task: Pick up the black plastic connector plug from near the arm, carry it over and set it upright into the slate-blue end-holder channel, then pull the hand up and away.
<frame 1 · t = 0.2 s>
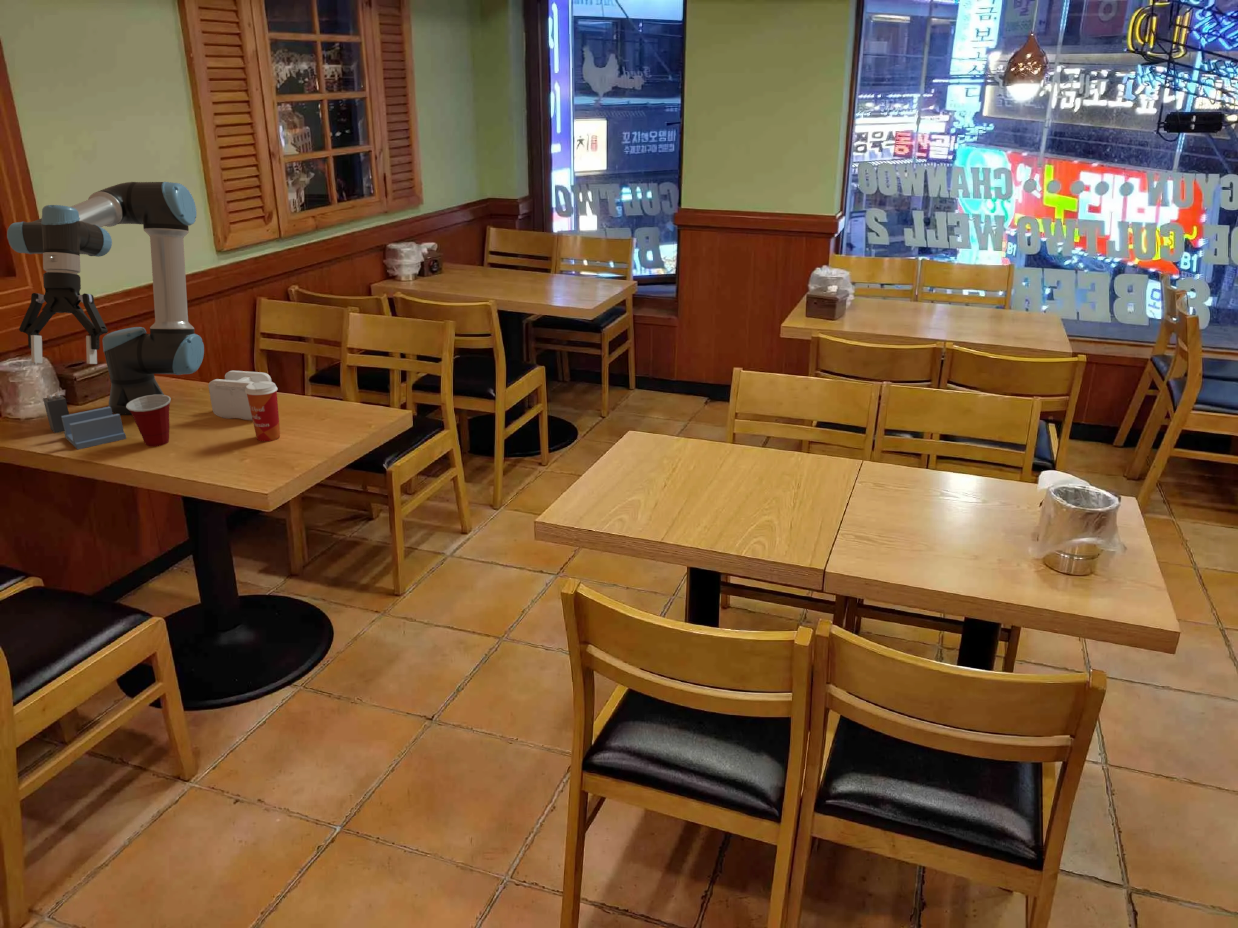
hand: (64, 363, 219), 28 cm above the table, tool tilted 20°, fingers open, 13 cm apart
cable organizer: (246, 415, 269), on the table
plastic cup: (156, 443, 247), on the table
plug: (61, 429, 257), on the table
holder: (95, 438, 250), on the table
coffee cup: (268, 438, 251), on the table
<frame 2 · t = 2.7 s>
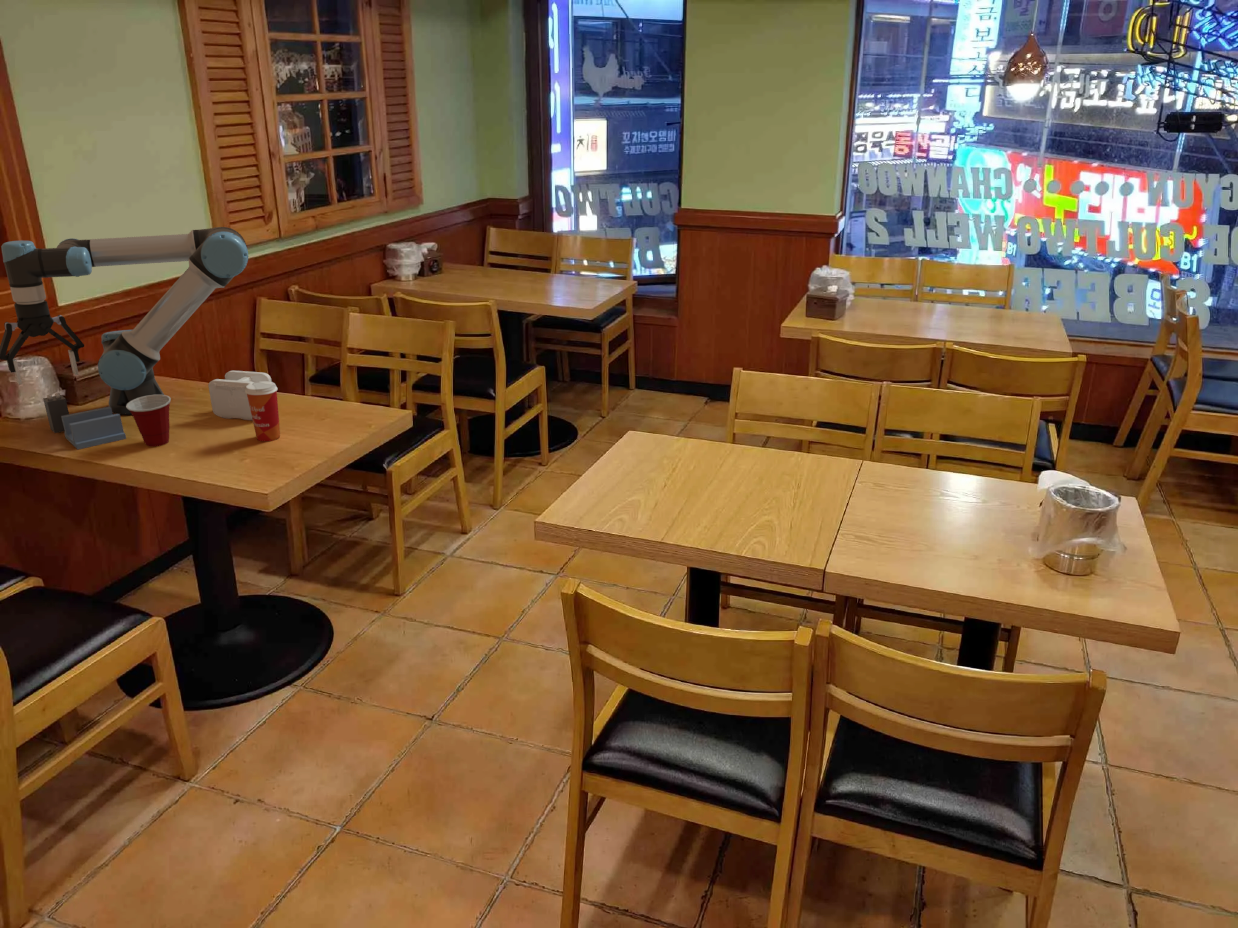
hand: (48, 378, 251), 15 cm above the table, tool pointing down, fingers open, 13 cm apart
nothing on the table moved.
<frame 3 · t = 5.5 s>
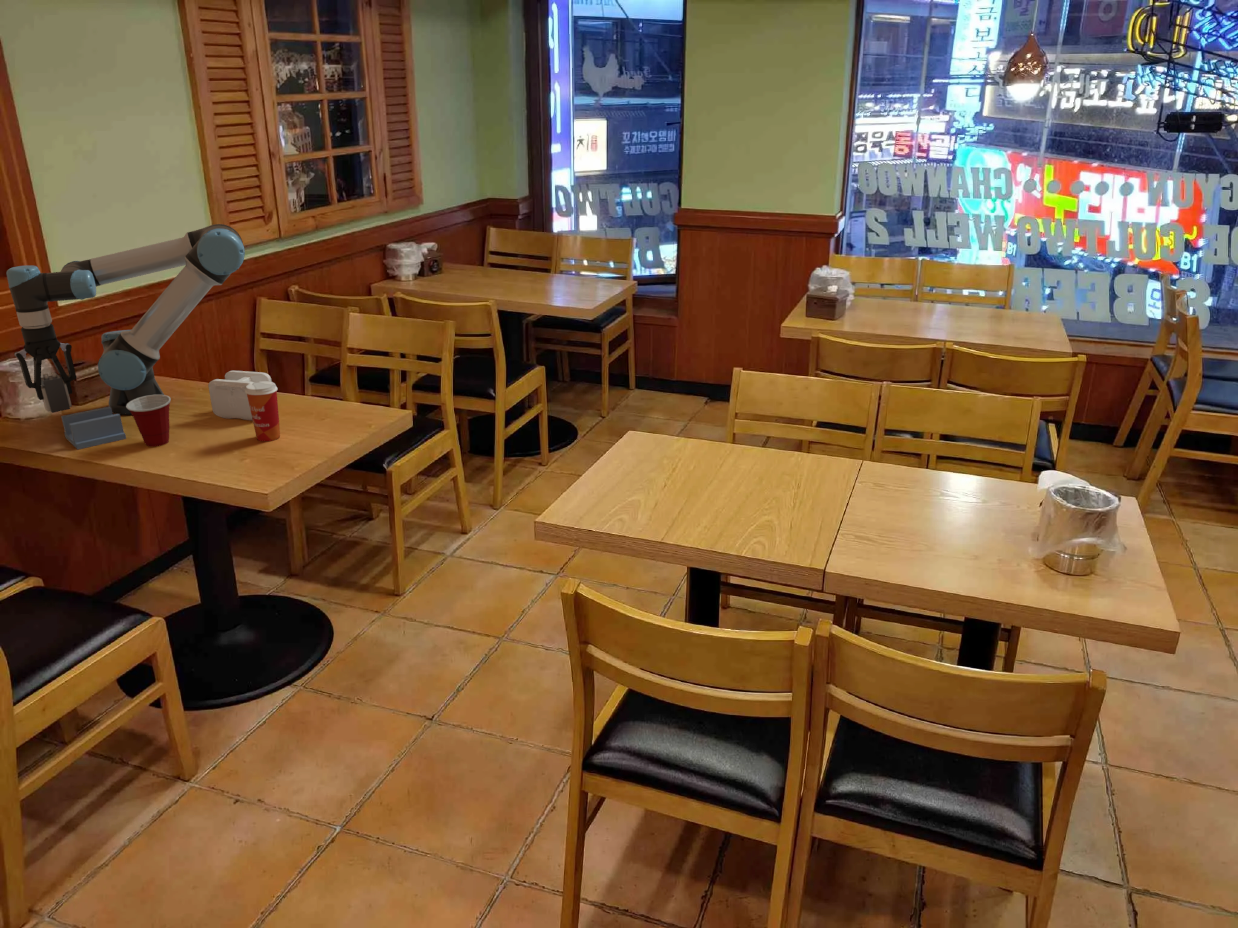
hand: (58, 407, 254), 6 cm above the table, tool pointing down, fingers closed on plug, 4 cm apart
plug: (59, 409, 254), point 6 cm above the table, touching gripper
everything else where it was.
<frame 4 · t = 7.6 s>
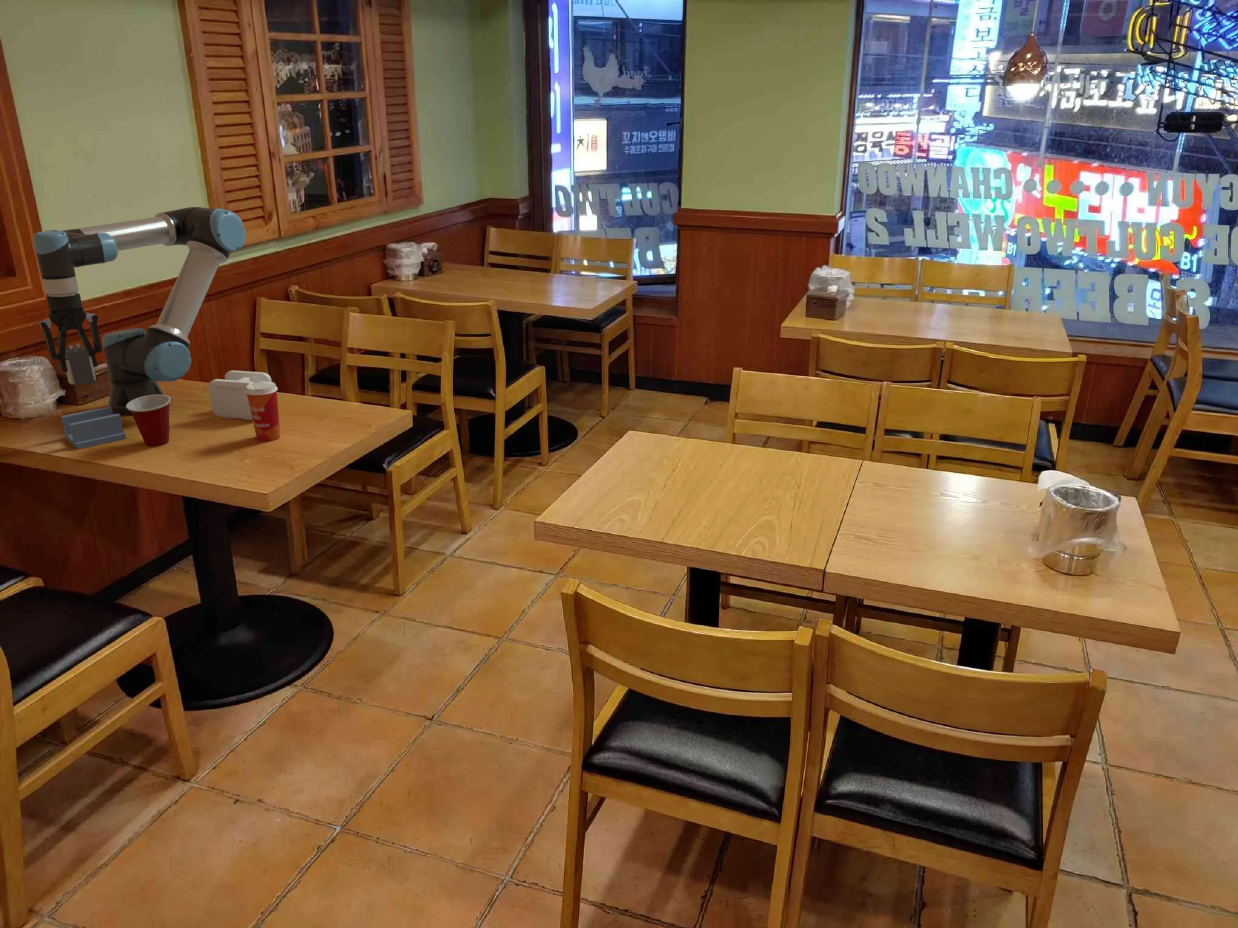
hand: (82, 380, 244), 16 cm above the table, tool pointing down, fingers closed on plug, 4 cm apart
plug: (82, 382, 244), point 16 cm above the table, touching gripper
everything else where it was.
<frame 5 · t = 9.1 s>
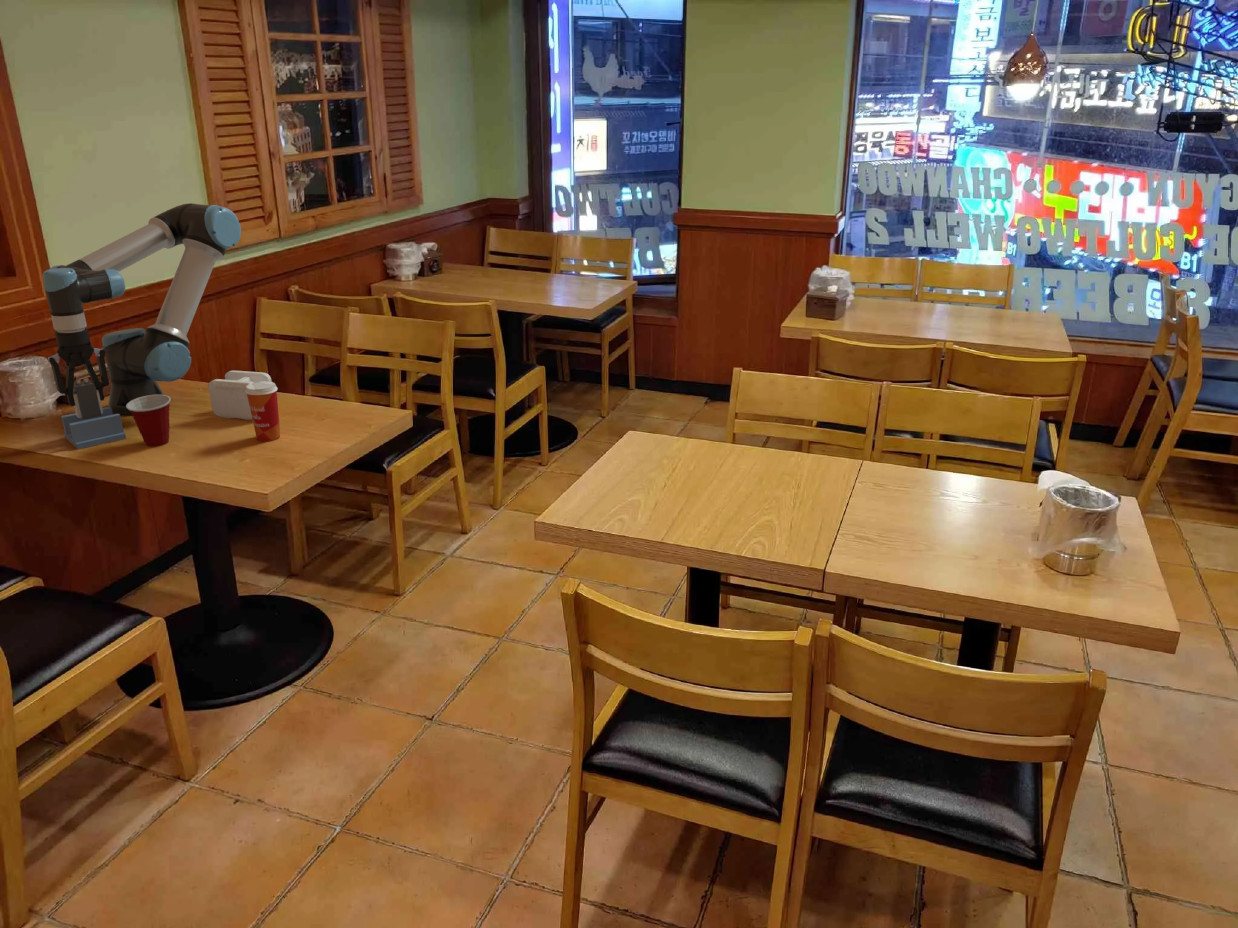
hand: (89, 414, 247), 7 cm above the table, tool pointing down, fingers closed on plug, 4 cm apart
plug: (90, 415, 247), point 7 cm above the table, touching gripper
everything else where it was.
when the fingers open (3 cm above the table, at t = 10.2 s): plug stays where it is, resting on holder.
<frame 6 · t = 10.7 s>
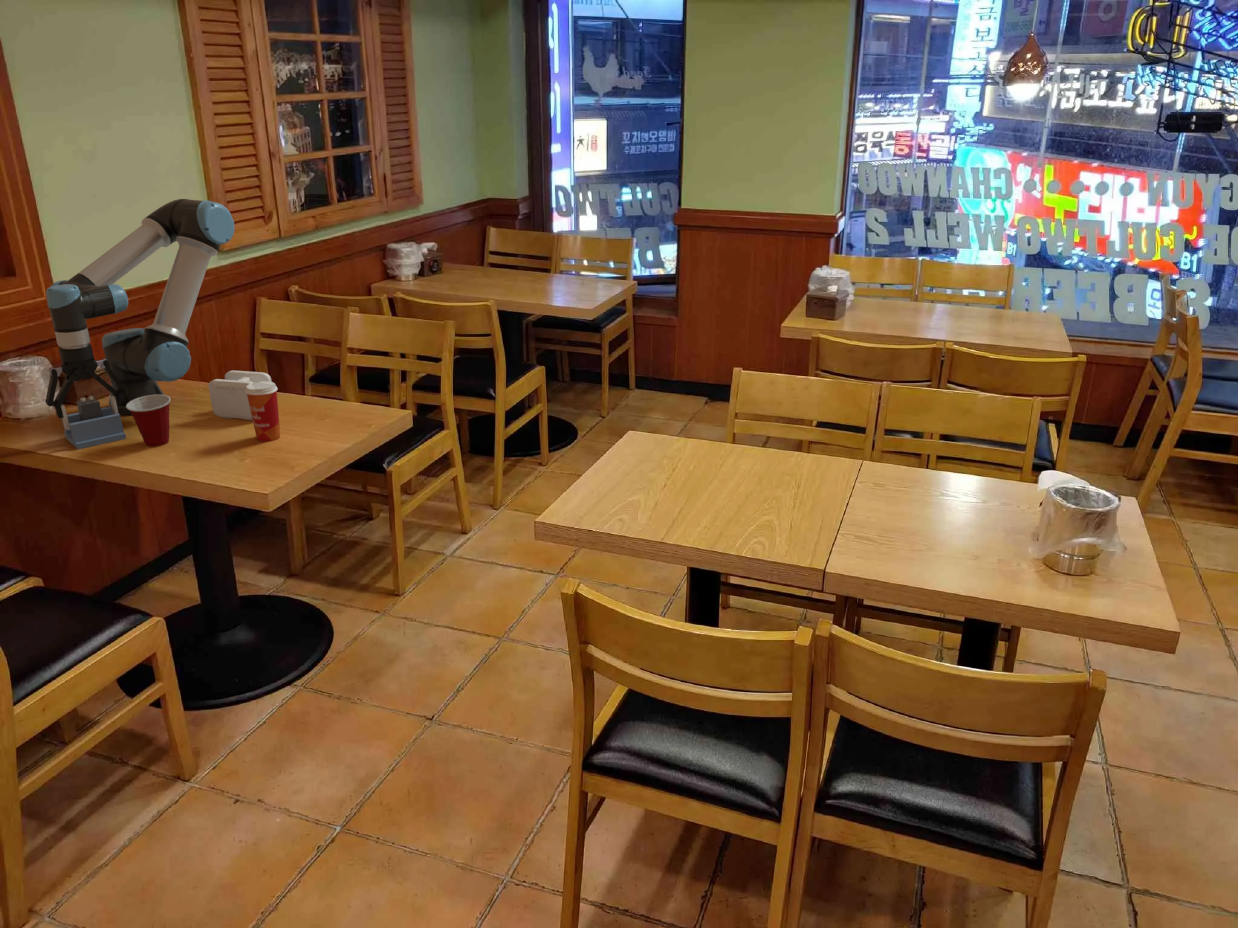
hand: (92, 423, 249), 4 cm above the table, tool pointing down, fingers open, 11 cm apart
plug: (94, 432, 250), point 1 cm above the table, touching holder
everything else where it was.
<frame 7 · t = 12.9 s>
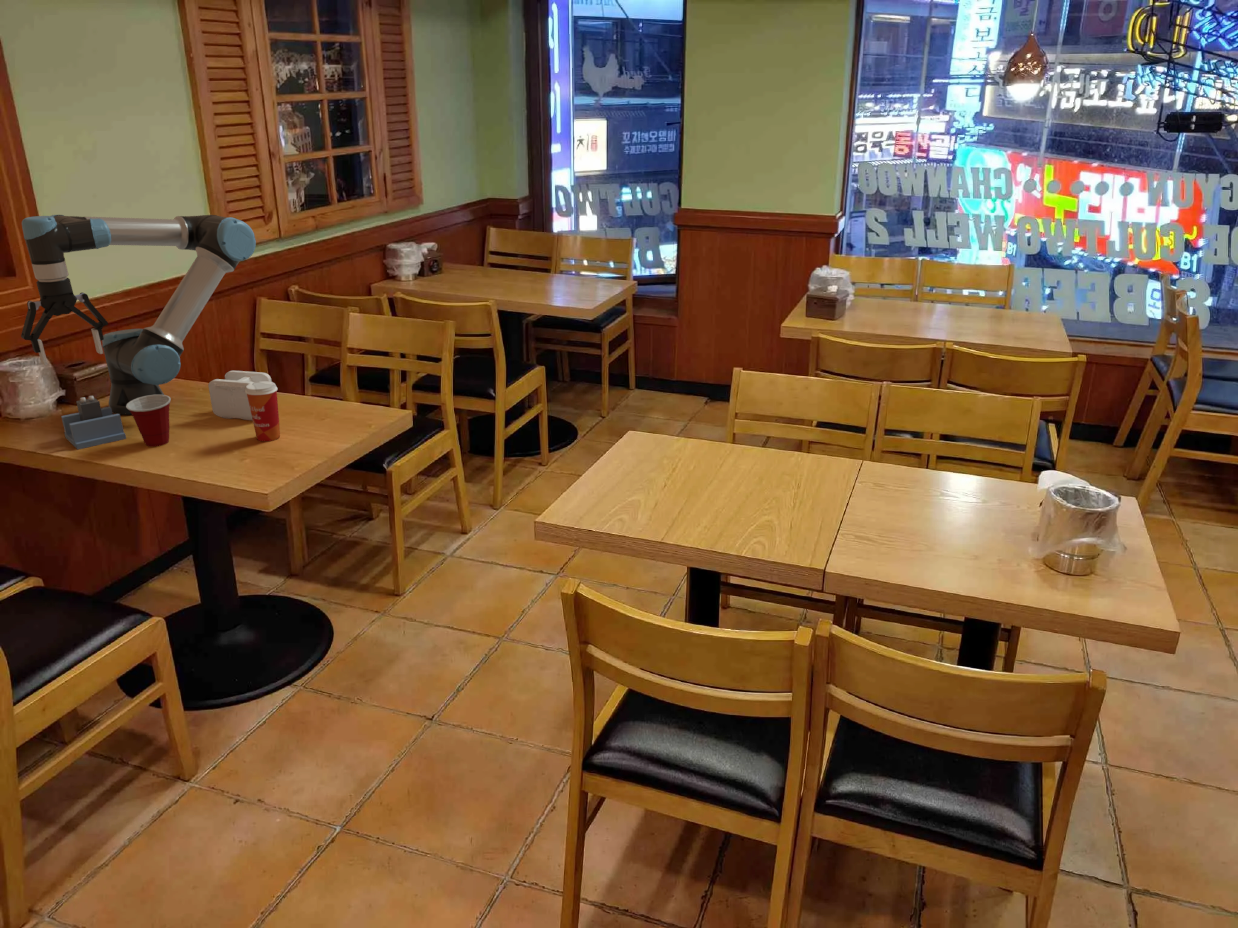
hand: (72, 358, 245), 22 cm above the table, tool pointing down, fingers open, 13 cm apart
nothing on the table moved.
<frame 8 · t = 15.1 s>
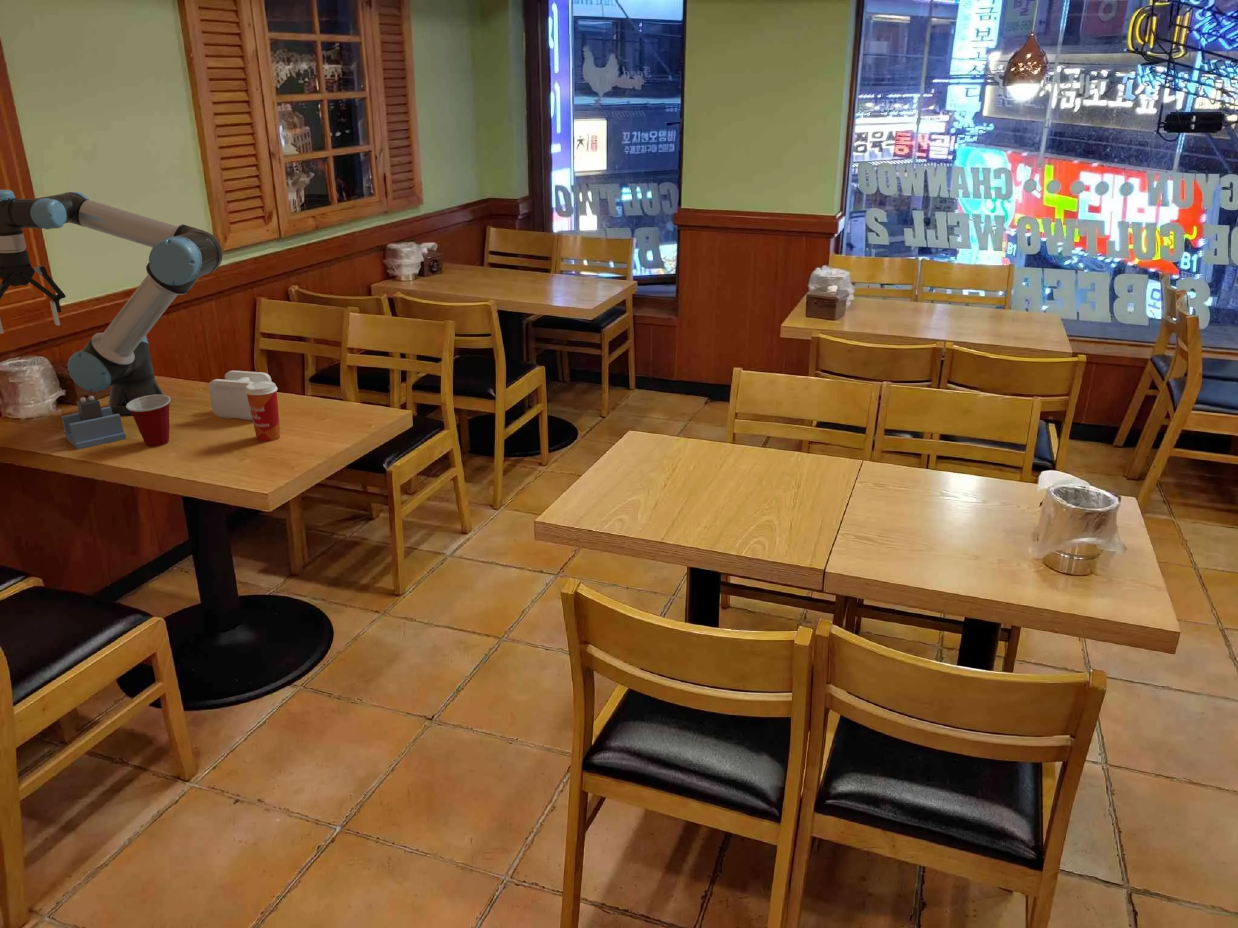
hand: (29, 328, 253), 27 cm above the table, tool pointing down, fingers open, 13 cm apart
nothing on the table moved.
at the end: plug 0.1 cm off-centre on the holder, point 1.5 cm above the holder's base; plug tilted 0°; the gripper is holding nothing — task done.
